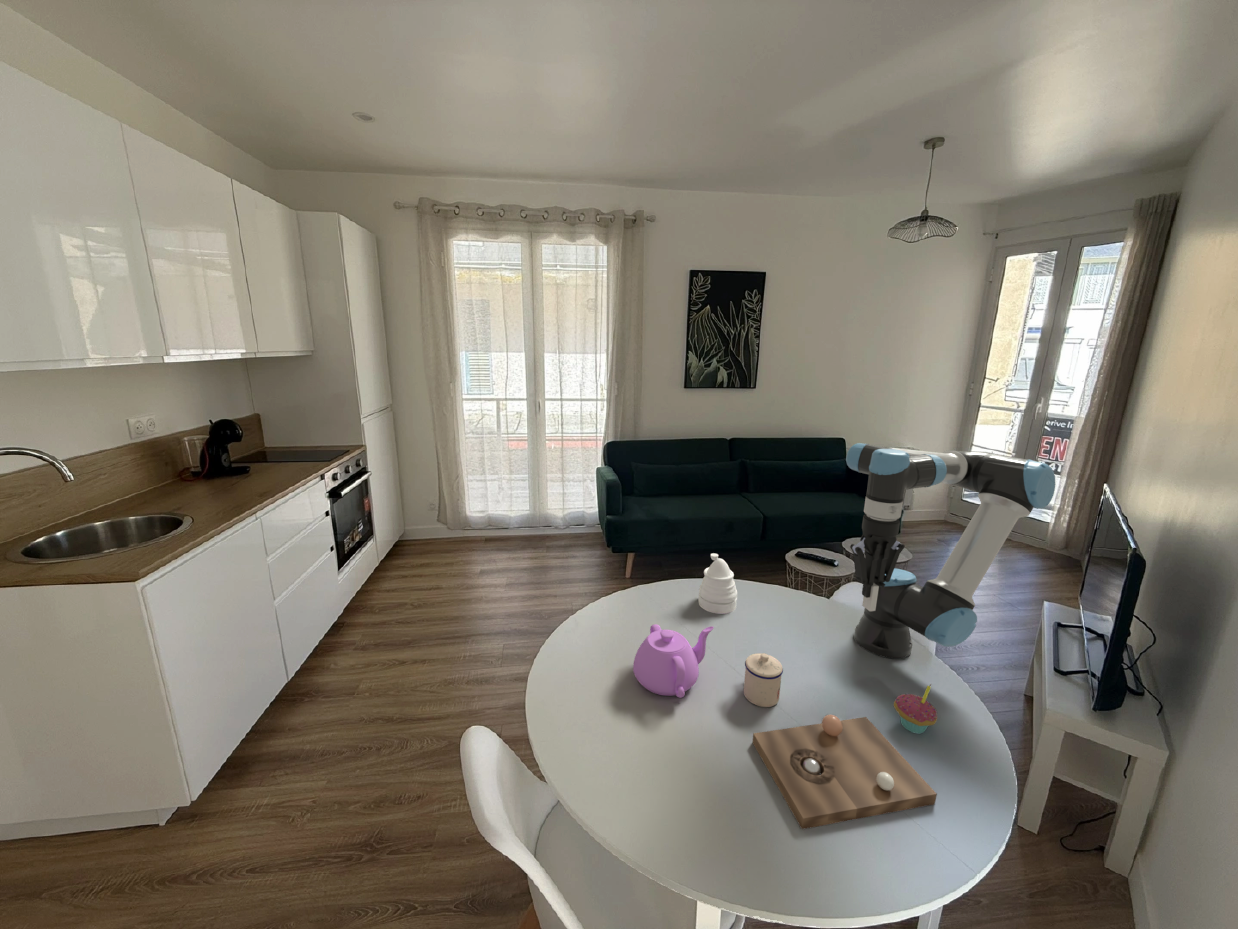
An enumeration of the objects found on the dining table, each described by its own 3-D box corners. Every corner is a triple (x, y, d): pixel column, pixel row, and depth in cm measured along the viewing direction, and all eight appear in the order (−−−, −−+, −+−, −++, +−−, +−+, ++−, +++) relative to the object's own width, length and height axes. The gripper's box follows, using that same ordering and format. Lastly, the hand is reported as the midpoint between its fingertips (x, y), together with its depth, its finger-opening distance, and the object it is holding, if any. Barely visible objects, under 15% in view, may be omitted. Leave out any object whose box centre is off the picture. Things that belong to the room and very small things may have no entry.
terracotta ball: (833, 725, 108) (835, 709, 107) (845, 739, 104) (847, 723, 103) (816, 727, 107) (818, 711, 106) (828, 742, 103) (830, 725, 102)
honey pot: (698, 611, 159) (700, 562, 155) (698, 593, 171) (700, 546, 167) (737, 615, 157) (741, 565, 153) (735, 596, 169) (738, 549, 165)
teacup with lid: (786, 707, 117) (790, 666, 114) (749, 709, 116) (753, 668, 113) (767, 675, 128) (770, 636, 125) (734, 677, 127) (737, 638, 125)
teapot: (730, 697, 120) (734, 649, 116) (649, 715, 114) (650, 665, 110) (693, 646, 140) (695, 604, 137) (622, 659, 134) (622, 615, 131)
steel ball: (806, 752, 98) (795, 764, 99) (816, 768, 95) (805, 780, 96) (817, 756, 99) (806, 768, 100) (827, 772, 96) (816, 784, 97)
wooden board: (864, 726, 111) (866, 717, 110) (934, 804, 92) (936, 794, 91) (752, 742, 106) (753, 733, 105) (801, 829, 87) (803, 818, 86)
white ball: (885, 779, 94) (887, 767, 94) (896, 793, 91) (898, 780, 91) (871, 782, 94) (873, 769, 93) (882, 795, 91) (884, 782, 90)
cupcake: (928, 718, 114) (937, 674, 111) (939, 745, 106) (948, 698, 103) (888, 709, 116) (895, 666, 114) (895, 735, 109) (903, 689, 106)
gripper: (867, 523, 105) (855, 619, 111) (918, 520, 108) (903, 613, 113) (846, 512, 112) (835, 602, 118) (894, 509, 115) (881, 598, 120)
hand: (868, 608), depth 116 cm, fingers closed
